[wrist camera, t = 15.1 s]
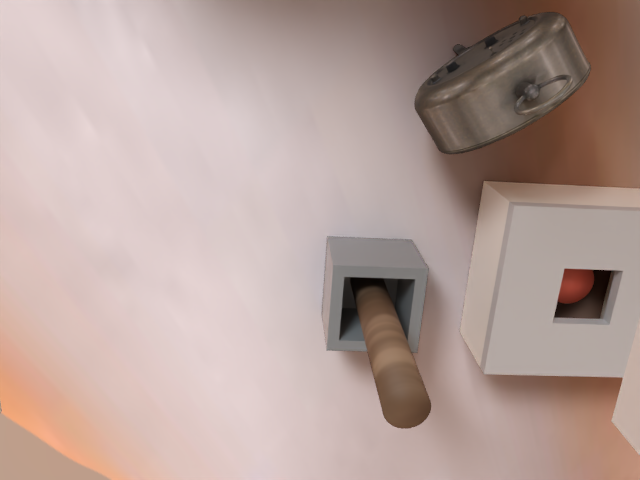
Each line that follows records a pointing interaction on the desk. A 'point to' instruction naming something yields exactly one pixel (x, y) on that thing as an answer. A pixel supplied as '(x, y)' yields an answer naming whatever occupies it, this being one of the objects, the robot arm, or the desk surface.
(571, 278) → the button
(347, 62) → the desk surface
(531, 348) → the white box
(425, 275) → the pen cup
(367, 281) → the brown wooden rod
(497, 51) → the alarm clock
